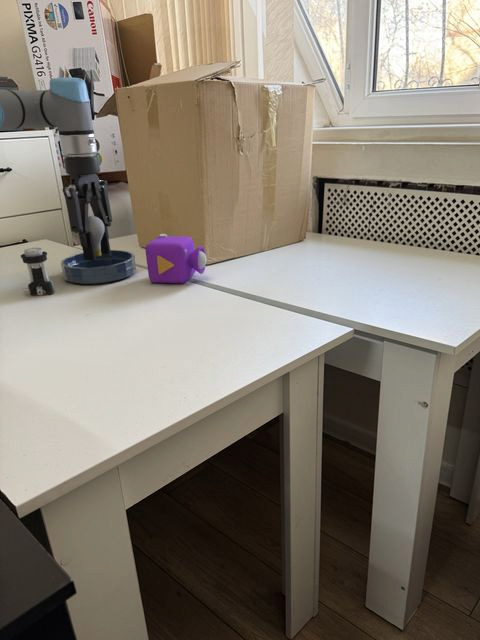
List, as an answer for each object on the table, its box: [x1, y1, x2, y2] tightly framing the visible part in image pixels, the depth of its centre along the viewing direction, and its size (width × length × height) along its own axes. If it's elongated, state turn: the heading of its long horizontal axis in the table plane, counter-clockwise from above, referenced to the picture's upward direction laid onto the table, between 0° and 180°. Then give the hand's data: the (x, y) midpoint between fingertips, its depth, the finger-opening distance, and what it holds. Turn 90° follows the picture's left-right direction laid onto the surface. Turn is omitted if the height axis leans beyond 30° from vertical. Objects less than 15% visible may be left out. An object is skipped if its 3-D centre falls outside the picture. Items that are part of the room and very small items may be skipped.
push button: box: [20, 247, 55, 296], centre depth 112 cm, size 7×5×10 cm
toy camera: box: [145, 233, 208, 284], centre depth 119 cm, size 11×14×10 cm
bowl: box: [60, 249, 137, 285], centre depth 125 cm, size 17×17×4 cm
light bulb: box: [88, 215, 105, 258], centre depth 122 cm, size 6×6×10 cm
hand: (97, 256), depth 124 cm, fingers closed on light bulb, 5 cm apart
